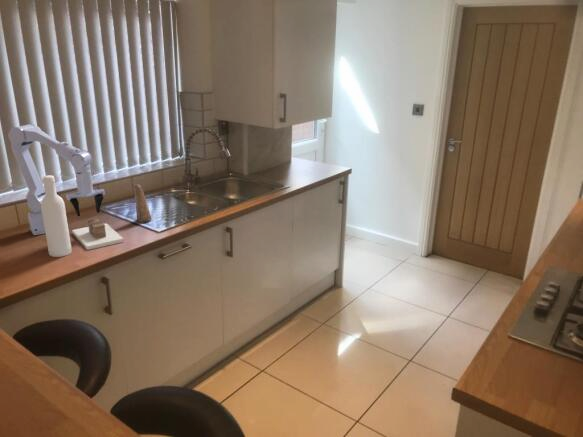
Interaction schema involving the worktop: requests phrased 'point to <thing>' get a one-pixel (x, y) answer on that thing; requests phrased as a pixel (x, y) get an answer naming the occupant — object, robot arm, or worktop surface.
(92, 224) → the walnut block
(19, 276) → the worktop surface
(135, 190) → the tan tapered horn
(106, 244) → the cutting board
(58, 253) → the bottle
